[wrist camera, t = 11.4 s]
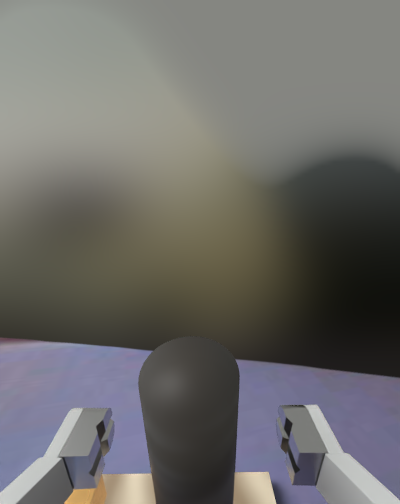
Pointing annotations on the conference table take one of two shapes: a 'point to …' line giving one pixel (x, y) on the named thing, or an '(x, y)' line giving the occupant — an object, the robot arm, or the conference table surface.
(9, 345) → the conference table surface
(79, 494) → the pin
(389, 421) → the conference table surface
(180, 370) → the lever
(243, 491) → the frame
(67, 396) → the conference table surface
